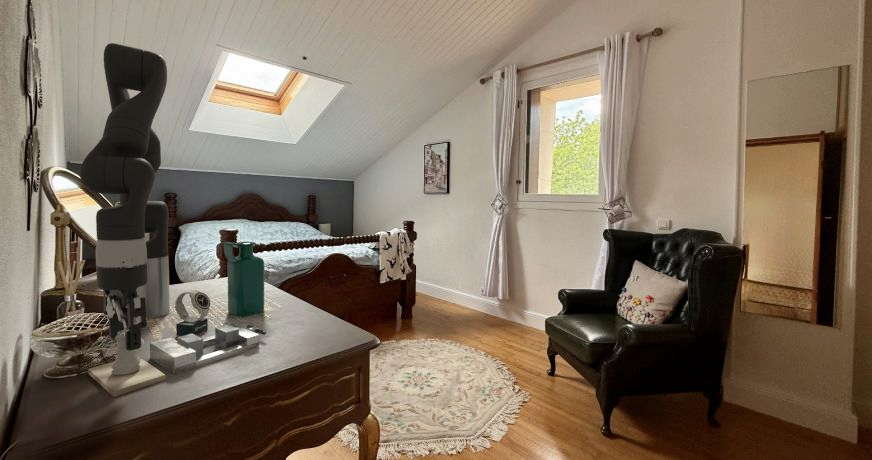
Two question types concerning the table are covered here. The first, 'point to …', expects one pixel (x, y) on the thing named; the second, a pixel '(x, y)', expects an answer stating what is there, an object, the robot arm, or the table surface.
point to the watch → (192, 323)
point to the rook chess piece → (124, 358)
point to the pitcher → (244, 280)
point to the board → (126, 378)
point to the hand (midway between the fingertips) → (125, 343)
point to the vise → (191, 347)
